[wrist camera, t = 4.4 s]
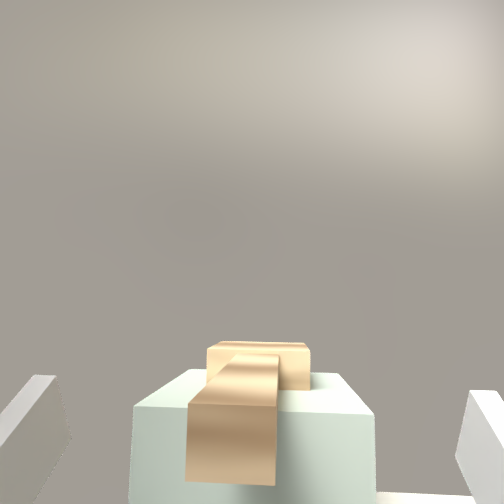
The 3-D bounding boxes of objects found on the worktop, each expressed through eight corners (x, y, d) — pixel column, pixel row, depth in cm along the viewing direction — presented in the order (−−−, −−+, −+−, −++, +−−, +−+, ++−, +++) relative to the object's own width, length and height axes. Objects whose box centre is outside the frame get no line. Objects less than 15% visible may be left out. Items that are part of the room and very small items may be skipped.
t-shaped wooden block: (344, 489, 11) (344, 400, 11) (118, 478, 11) (124, 393, 11) (304, 374, 29) (304, 343, 30) (221, 372, 30) (221, 341, 30)
